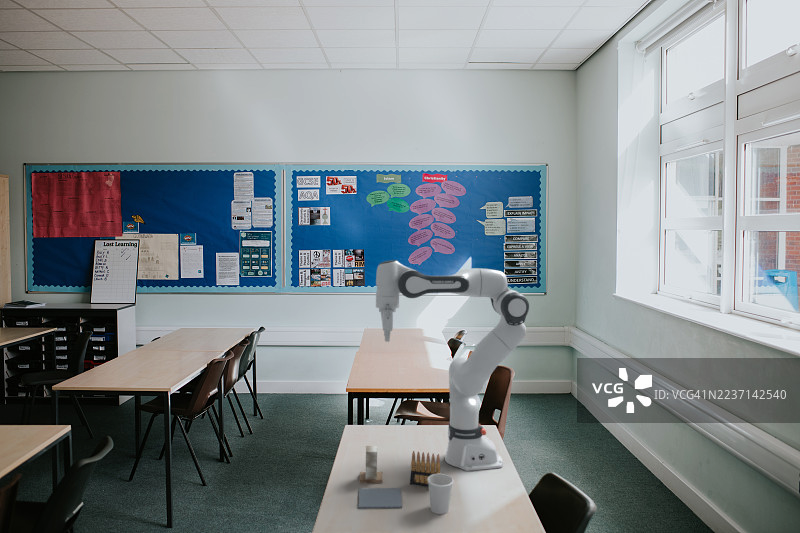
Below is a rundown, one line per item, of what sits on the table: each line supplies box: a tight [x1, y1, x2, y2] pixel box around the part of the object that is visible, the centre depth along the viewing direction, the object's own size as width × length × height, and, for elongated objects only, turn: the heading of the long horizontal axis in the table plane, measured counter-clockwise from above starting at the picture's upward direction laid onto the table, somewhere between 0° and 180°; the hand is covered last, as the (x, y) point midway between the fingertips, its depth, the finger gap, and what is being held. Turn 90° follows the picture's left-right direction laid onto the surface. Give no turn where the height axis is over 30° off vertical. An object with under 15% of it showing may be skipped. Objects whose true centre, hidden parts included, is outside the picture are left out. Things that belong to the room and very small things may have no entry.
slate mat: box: [358, 487, 403, 510], centre depth 172 cm, size 14×12×1 cm
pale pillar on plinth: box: [359, 445, 383, 484], centre depth 185 cm, size 8×6×11 cm
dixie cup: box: [427, 473, 454, 515], centre depth 166 cm, size 8×8×10 cm
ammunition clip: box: [409, 450, 441, 488], centre depth 181 cm, size 11×2×12 cm, turn 75°
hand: (386, 338), depth 198 cm, fingers open, 8 cm apart
